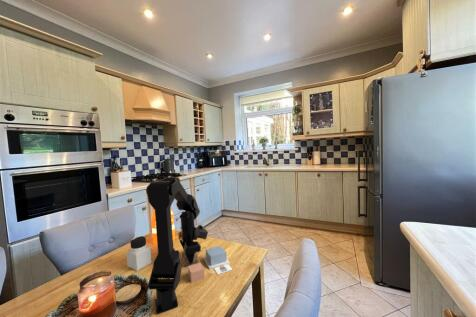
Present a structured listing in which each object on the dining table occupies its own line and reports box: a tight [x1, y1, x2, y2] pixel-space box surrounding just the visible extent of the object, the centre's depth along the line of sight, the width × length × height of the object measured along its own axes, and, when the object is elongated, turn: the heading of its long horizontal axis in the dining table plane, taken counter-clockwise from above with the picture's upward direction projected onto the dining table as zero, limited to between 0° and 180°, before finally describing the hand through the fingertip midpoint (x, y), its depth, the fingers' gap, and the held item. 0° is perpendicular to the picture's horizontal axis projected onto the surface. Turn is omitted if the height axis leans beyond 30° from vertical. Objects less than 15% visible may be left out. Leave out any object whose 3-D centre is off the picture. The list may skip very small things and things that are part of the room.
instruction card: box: [213, 264, 233, 275], centre depth 83 cm, size 4×6×1 cm
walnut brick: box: [180, 250, 199, 268], centre depth 90 cm, size 6×6×4 cm
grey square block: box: [203, 245, 231, 270], centre depth 89 cm, size 9×9×5 cm
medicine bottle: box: [126, 235, 153, 272], centre depth 89 cm, size 7×7×12 cm
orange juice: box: [150, 209, 176, 245], centre depth 111 cm, size 8×9×20 cm
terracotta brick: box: [187, 262, 205, 284], centre depth 79 cm, size 5×5×4 cm
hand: (189, 259), depth 90 cm, fingers closed on walnut brick, 6 cm apart
